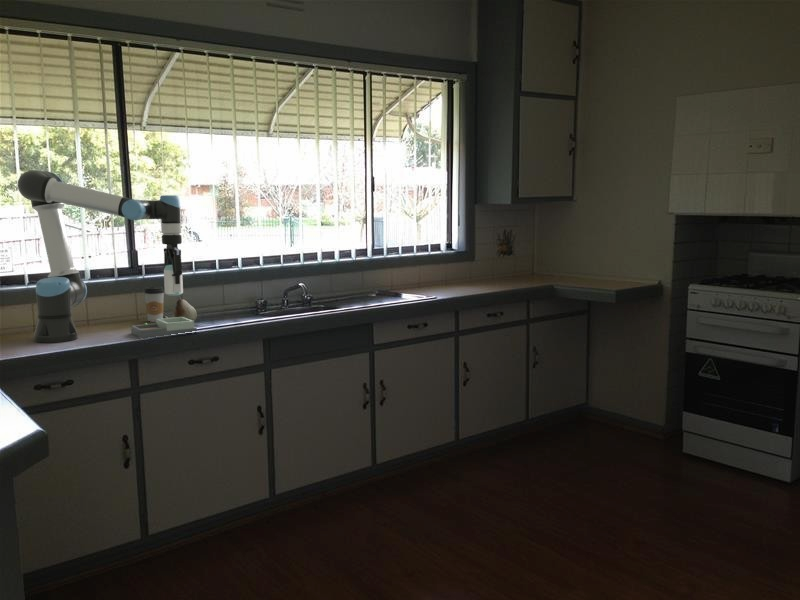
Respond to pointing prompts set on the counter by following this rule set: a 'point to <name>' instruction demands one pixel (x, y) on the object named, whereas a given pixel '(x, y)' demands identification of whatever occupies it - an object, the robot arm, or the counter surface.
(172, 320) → the grey tray
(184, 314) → the fruit
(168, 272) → the can
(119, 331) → the counter surface
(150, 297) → the coffee cup
